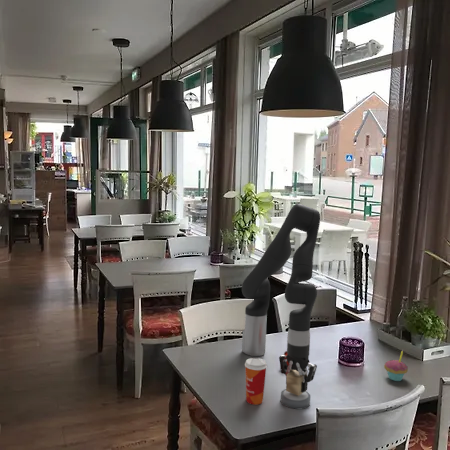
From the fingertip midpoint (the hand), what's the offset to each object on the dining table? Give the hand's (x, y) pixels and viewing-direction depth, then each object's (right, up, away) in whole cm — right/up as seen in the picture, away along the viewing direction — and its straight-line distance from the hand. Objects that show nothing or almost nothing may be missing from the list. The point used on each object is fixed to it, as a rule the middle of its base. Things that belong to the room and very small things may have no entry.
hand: (296, 388), depth 168 cm
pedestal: (0, -5, +1) cm, 5 cm away
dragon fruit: (+3, -1, +29) cm, 29 cm away
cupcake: (+41, -4, +22) cm, 47 cm away
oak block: (0, -1, 0) cm, 1 cm away
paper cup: (-14, -4, 0) cm, 15 cm away
